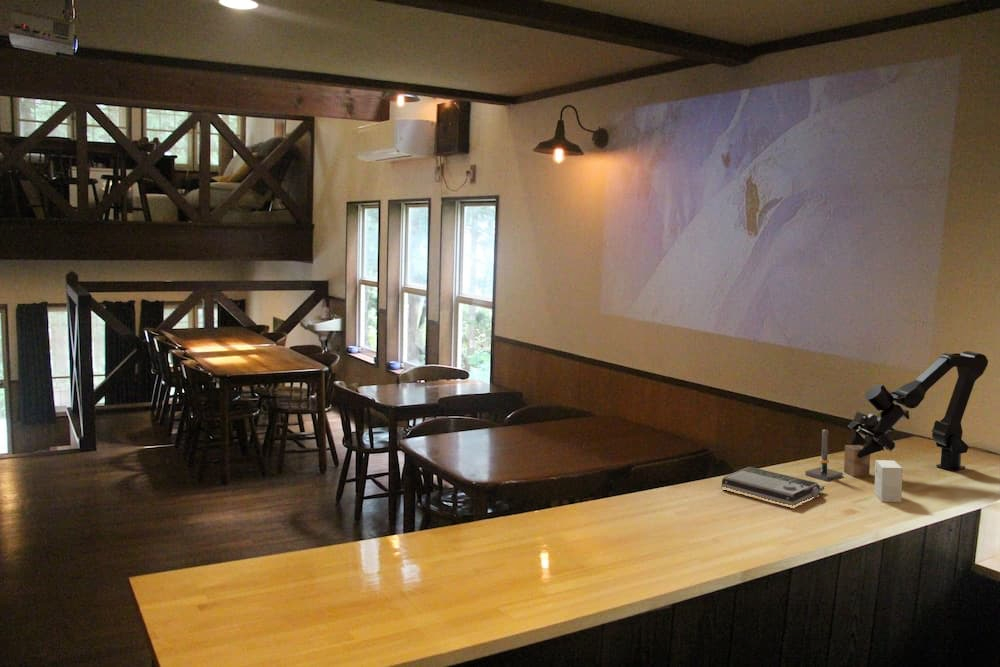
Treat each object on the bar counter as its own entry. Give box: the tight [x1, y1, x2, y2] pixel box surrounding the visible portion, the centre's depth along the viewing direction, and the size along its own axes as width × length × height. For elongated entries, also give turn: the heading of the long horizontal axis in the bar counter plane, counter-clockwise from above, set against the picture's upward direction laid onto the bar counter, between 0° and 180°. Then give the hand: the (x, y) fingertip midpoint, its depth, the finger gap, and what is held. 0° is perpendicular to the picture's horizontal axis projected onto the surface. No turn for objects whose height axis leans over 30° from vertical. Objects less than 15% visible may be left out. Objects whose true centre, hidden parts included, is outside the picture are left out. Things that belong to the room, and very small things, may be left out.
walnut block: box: [843, 444, 871, 478], centre depth 256 cm, size 6×6×9 cm
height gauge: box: [805, 429, 843, 482], centre depth 255 cm, size 8×8×15 cm
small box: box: [874, 459, 903, 503], centre depth 234 cm, size 8×6×10 cm
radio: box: [721, 466, 825, 506], centre depth 242 cm, size 24×5×20 cm
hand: (853, 454), depth 256 cm, fingers closed on walnut block, 5 cm apart
